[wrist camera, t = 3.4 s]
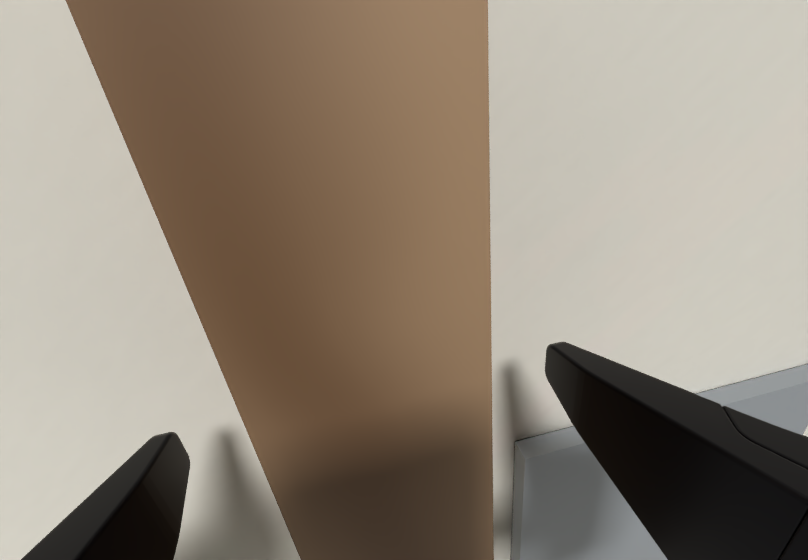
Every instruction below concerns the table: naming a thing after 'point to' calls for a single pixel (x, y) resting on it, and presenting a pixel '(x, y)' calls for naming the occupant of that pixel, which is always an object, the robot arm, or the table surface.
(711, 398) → the mounting board
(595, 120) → the table surface
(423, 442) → the walnut rail
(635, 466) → the robot arm
